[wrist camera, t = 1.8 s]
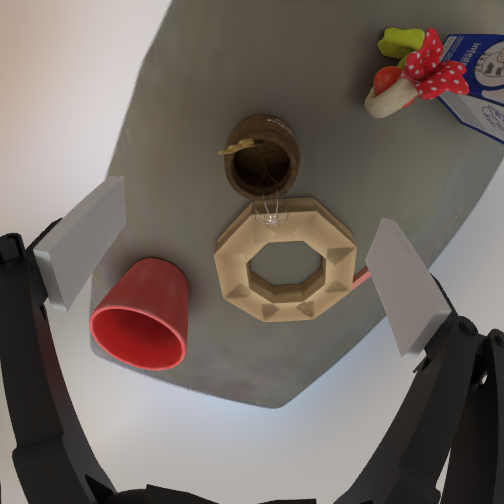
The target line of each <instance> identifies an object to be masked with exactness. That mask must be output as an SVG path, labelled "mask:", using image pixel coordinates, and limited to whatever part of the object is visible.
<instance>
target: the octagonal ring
mask: <svg viewBox="0 0 504 504" xmlns="http://www.w3.org/2000/svg"><path fill="white" fill-rule="evenodd" d="M287 199H288V214H287V211H286V209H287V208H286V205H287ZM287 199H285V201H284V199H274V200H273V199H272V200H267V201H265V203H264V201H257V200H256V201H255V209H256V211H257V212H258V213H259V214H260V215H261V216H262V217H264V214H265V220H264V218H262V217H261V216H260V215H259V214H258V213H257V212H256V211H255V214H254V204H253V201H252V202H251V203H250V204H249V205H248V206H247V207H246V208H245V209H244V211H243V212H242V213H241V214H240V215H239V216H238V217H237V218H236V219H235V221H234V222H233V223H232V224H231V225H230V226H229V227H228V228H227V229H226V231H225V232H224V233H223V234H222V235H221V236H220V237H219V238H218V241H217V245H216V249H215V252H214V259H215V263H216V268H217V273H218V277H219V281H220V286H221V290H222V295H223V298H224V299H225V300H227V301H229V302H230V303H232V304H234V305H235V306H237V307H239V308H240V309H242V310H244V311H246V312H247V313H249V314H251V315H252V316H254V317H256V318H258V319H259V320H261V321H263V322H276V321H295V320H311V319H314V318H316V317H317V316H319V315H320V314H321V313H323V312H324V311H325V310H327V309H328V308H330V307H331V306H332V305H334V304H335V303H336V302H338V301H339V300H340V299H342V298H343V297H344V296H346V295H347V294H348V293H349V292H351V289H352V282H353V274H354V267H355V258H356V249H357V246H356V244H355V241H354V239H353V237H352V234H351V232H350V230H348V229H347V228H346V227H345V226H344V225H343V224H342V223H341V222H340V221H339V220H337V219H336V218H335V217H334V216H333V215H332V214H331V213H330V212H328V211H327V210H326V209H325V208H324V207H323V206H322V205H320V204H319V203H318V202H317V201H316V200H315V199H313V198H312V197H304V198H287ZM274 201H275V203H274ZM277 202H278V208H277ZM285 202H286V204H285ZM265 204H266V206H265ZM275 204H276V207H275ZM266 207H267V209H266ZM276 208H277V213H278V217H277V213H276ZM267 210H268V212H269V214H270V216H271V218H272V220H274V223H275V222H278V220H277V219H278V218H280V217H281V216H282V215H283V214H284V213H285V211H286V213H285V214H284V215H283V216H282V217H281V218H280V219H279V222H282V223H279V227H278V223H275V225H276V226H277V227H276V226H275V225H274V223H273V224H272V223H270V222H271V221H272V220H271V218H270V216H269V214H268V212H267ZM275 214H276V216H275ZM255 216H256V219H255ZM274 217H275V219H274ZM287 217H288V219H287ZM266 219H267V220H266ZM286 219H287V220H286ZM256 220H257V221H258V222H260V223H265V222H266V223H269V224H266V226H267V228H266V226H265V224H260V223H258V222H257V221H256ZM268 220H270V221H268ZM275 220H276V221H275ZM285 220H286V221H285ZM283 221H285V222H283ZM271 224H272V225H271ZM270 226H271V227H270ZM269 227H270V228H269ZM301 240H303V241H304V242H305V243H307V244H308V245H309V246H311V247H312V248H313V249H314V250H316V251H317V252H318V253H319V254H321V255H322V264H321V268H320V269H318V270H317V271H316V272H315V273H314V274H312V275H311V276H310V277H309V278H308V279H306V280H305V281H304V282H303V283H302V284H293V285H275V286H273V285H271V284H270V283H268V282H267V281H265V280H263V279H262V278H260V277H259V276H257V275H256V274H254V273H253V272H251V269H250V262H249V260H250V259H251V258H252V257H253V256H254V255H255V254H256V253H257V252H258V251H259V250H260V249H261V248H262V247H263V246H264V245H265V244H266V243H267V242H284V241H301Z"/></svg>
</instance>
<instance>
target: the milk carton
mask: <svg viewBox="0 0 504 504" xmlns="http://www.w3.org/2000/svg"><path fill="white" fill-rule="evenodd" d="M442 46H443V48H444V49H443V53H442V55H441V59H440V61H439V63H440V62H444V61H456V62H460V63H462V64H463V65H464V66H465V67H466V70H467V71H466V72H465V73H464V74H463V75H462V76H463V78H464V79H465V81H466V82H467V84H468V87H469V93H468V94H466V95H460V94H456V93H452V92H449V91H444V92H443V93H441V94H440V95H439V96H437V98H438V99H439V100H440V101H441V102H442V103H443V104H444V105H445V106H446V108H447V109H448V110H449V111H450V112H451V113H452V114H453V115H454V116H455V117H456V119H457V120H458V121H459V122H460V123H461V124H463V125H465V126H467V127H470V128H472V129H474V130H476V131H478V132H480V133H482V134H484V135H486V136H488V137H490V138H492V139H494V140H496V141H498V142H500V143H502V144H503V145H504V35H495V34H454V35H449V36H448V37H447V39H446V40H445V42H444V43H443V45H442Z"/></svg>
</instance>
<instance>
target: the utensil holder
mask: <svg viewBox="0 0 504 504" xmlns="http://www.w3.org/2000/svg"><path fill="white" fill-rule="evenodd" d="M217 154H218V155H222V154H224V161H225V171H226V176H227V179H228V181H229V183H230V184H231V186H232V187H233V188H234V189H235V190H236V191H237V192H238V193H239V194H241V195H242V196H244V197H246V198H249V199H252V200H253V204H254V214H255V211H256V209H255V201H254V200H257V201H264V203H265V201H267V200H272V199H273V200H274V199H275V198H278V197H279V196H281V195H283V194H284V193H286V192H287V191H288V190H289V189H290V187H291V186H292V185H293V183H294V181H295V179H296V176H297V172H298V167H299V163H300V151H299V146H298V143H297V140H296V138H295V136H294V133H293V132H292V130H291V129H290V127H289V126H288V125H287V124H286V123H285V122H284V121H282V120H281V119H279V118H277V117H274V116H271V115H265V114H260V115H254V116H251V117H248V118H246V119H244V120H243V121H242V122H240V123H239V124H238V125H237V126H236V127H235V129H234V130H233V132H232V133H231V135H230V137H229V139H228V141H227V144H226V147H225V149H224V150H221V151H219V152H218V153H217ZM282 197H283V196H282ZM286 198H287V194H286ZM283 199H284V197H283ZM284 201H285V199H284ZM274 203H275V201H274ZM285 204H286V202H285ZM265 206H266V204H265ZM275 207H276V204H275ZM277 208H278V202H277ZM277 208H276V213H277ZM286 208H287V209H286V211H287V214H288V199H287V205H286ZM266 209H267V207H266ZM286 211H285V213H286ZM256 212H257V211H256ZM267 212H268V210H267ZM257 213H258V212H257ZM285 213H284V214H285ZM258 214H259V213H258ZM268 214H269V212H268ZM284 214H283V215H284ZM259 215H260V214H259ZM283 215H282V216H283ZM260 216H261V215H260ZM269 216H270V214H269ZM275 216H276V214H275ZM282 216H281V217H282ZM261 217H262V216H261ZM277 217H278V213H277ZM281 217H280V218H281ZM262 218H264V220H265V214H264V217H262ZM270 218H271V216H270ZM280 218H278V219H277V220H278V222H275V223H278V227H279V223H282V222H279V219H280ZM255 219H256V216H255ZM274 219H275V217H274ZM287 219H288V217H287ZM287 219H286V220H287ZM266 220H267V219H266ZM271 220H272V218H271ZM286 220H285V221H286ZM256 221H257V220H256ZM268 221H270V220H268ZM275 221H276V220H275ZM285 221H283V222H285ZM257 222H258V221H257ZM258 223H260V222H258ZM270 223H272V224H273V223H274V220H272V221H271V222H270ZM275 223H274V225H275ZM260 224H265V226H266V224H269V223H266V222H265V223H260ZM272 224H271V225H272ZM275 226H276V225H275ZM270 227H271V226H270ZM270 227H269V228H270ZM276 227H277V226H276ZM266 228H267V226H266Z"/></svg>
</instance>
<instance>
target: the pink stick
mask: <svg viewBox="0 0 504 504" xmlns="http://www.w3.org/2000/svg"><path fill="white" fill-rule="evenodd" d="M369 276H371V274H370V272H369V270H368V267H365V268H364V269H363V270H362V271H360V272H359V273H358V274H357V275H356V276H354V277H353V282H352V289H351V291H352V290H353V289H354V288H355V287H357V286H358V285H359V284H361V283H362V282H363V281H364V280H366V279H367V278H368V277H369Z"/></svg>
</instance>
